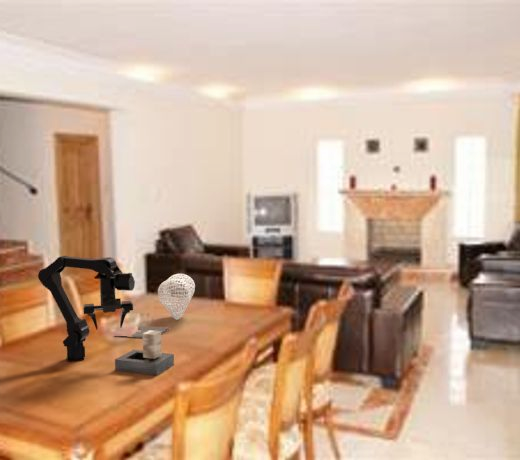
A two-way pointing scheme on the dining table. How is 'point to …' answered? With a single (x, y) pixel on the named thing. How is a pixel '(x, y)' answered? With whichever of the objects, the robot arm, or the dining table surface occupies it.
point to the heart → (165, 294)
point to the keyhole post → (152, 344)
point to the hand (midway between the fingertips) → (109, 328)
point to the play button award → (147, 328)
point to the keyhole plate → (143, 363)
